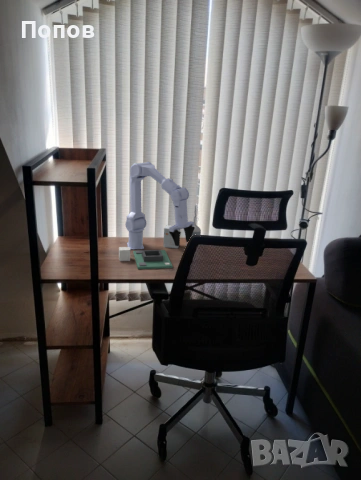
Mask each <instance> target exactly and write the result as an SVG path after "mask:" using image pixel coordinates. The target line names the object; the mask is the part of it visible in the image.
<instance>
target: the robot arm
mask: <svg viewBox="0 0 361 480" xmlns="http://www.w3.org/2000/svg"><path fill="white" fill-rule="evenodd" d="M129 168H130V170H129V171H130V174H129V195H130V200H129V201H130V202H129V203H130V212H129V213H128V214H127V216H126V221H125V229H126V230H127V232H128V242H126V244H127V246H126V247H130V250H145V246H144V245H143V244H144V243H143V237H144V230H145V228H146V227H147V220H146V214H144V213H143V212H142V181H143V180H144V179H145V178H146V177H150V178H152V179H153V180H155V181H156V182H157V183H159V184H160V186H161V187H160V188H161V189H162V190H163V191H165V192H166V193H167V194H168V195H169V196H170V199H171V200H172V203H173V207H174V221H175V222H174V223H175V224H173V225H171V226H172V227H169V233H170V234H171V236H172V238H173V240H174V243H175V246H179V247H180V244H181V233H182V231H180V232H178V230H179V229H180V230H182V229H183V233H184V237H185V242H186V243H187V242H188V241H189V239H190V237H191V236H192V233H193V231H194V229H195V227H192V226H194V221H193V220H192V221H189V218H188V203H187V200H188V199H189V198H190V192H189V190H188V189H187V188H186V187H184V186H183V187H182V186H181V185H179V184H177V183H176V182H175V181H174V180H173V179H172V178H166V177H165V176H164V175H163V174H162V173H161V172H160V171H159V170H158V169H157V168H156V166H155V164H153V163H152V162H151V161H145V162H139V163H137V162H134V163H133V164H132V165H131V166H130V167H129Z"/></svg>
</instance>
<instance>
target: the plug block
mask: <svg viewBox="0 0 361 480" xmlns="http://www.w3.org/2000/svg"><path fill="white" fill-rule="evenodd" d="M118 260H119V262H130V261H131V249H130V247H128V246H119V247H118Z"/></svg>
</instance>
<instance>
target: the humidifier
mask: <svg viewBox="0 0 361 480" xmlns="http://www.w3.org/2000/svg"><path fill="white" fill-rule="evenodd" d="M199 214H200V213H199V212H198V216H199ZM196 218H197V205H196V204H195V205H194V215H193V222H194V226H192V227H195V229H194V231H193V233H192V235H195V234H196V235H201V236H202V231H201V228H200V227H199V225H198V224H196V223H197V222H196ZM199 218H200V217H198V220H199ZM186 246H187V245H185V247H186Z"/></svg>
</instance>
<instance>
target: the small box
mask: <svg viewBox="0 0 361 480" xmlns="http://www.w3.org/2000/svg"><path fill="white" fill-rule="evenodd" d="M172 226H173V225H165V226H164V228H163V245H162V246H163V248H171V249H179V247H180V246H175V243H174V240H173V238H172V236H171V234H170V233H169V227H172ZM178 232H181V229H179V230H178Z"/></svg>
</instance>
